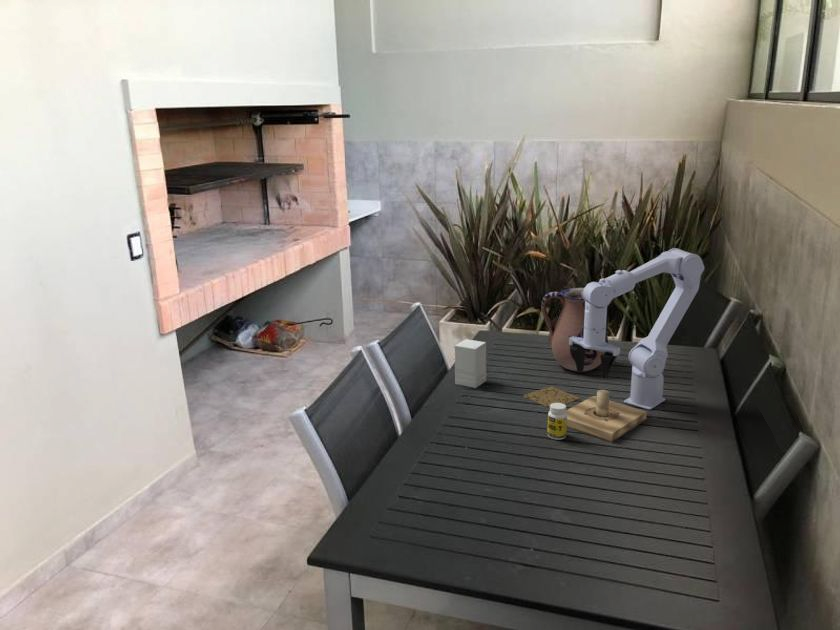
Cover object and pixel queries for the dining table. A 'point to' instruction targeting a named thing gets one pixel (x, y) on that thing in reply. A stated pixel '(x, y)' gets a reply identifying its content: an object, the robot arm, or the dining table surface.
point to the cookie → (551, 396)
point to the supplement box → (470, 363)
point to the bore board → (604, 419)
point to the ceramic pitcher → (569, 329)
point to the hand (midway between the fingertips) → (592, 374)
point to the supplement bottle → (557, 421)
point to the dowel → (602, 403)
